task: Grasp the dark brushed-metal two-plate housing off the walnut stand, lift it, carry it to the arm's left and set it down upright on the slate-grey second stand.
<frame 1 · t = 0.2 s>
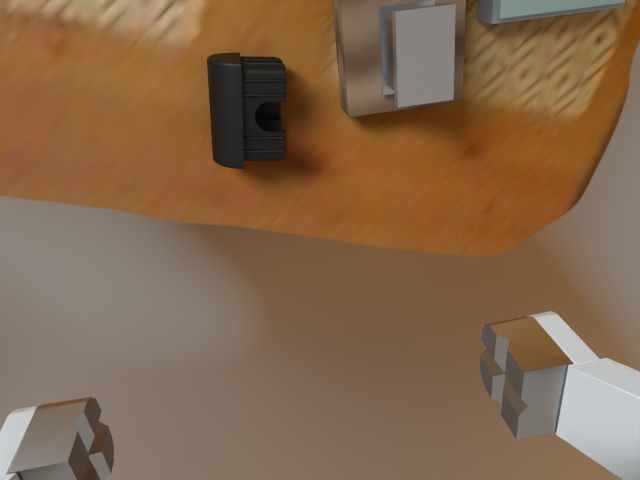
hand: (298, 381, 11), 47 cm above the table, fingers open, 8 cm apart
end cap: (245, 101, 55), on the table
housing: (405, 47, 51), point 4 cm above the table, touching stand a
stand a: (393, 41, 54), on the table
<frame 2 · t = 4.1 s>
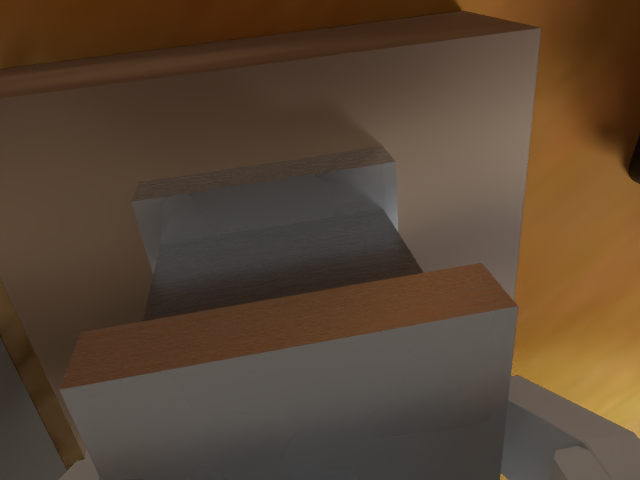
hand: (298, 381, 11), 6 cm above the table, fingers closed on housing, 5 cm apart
housing: (287, 315, 13), point 4 cm above the table, touching gripper, stand a
stand a: (274, 240, 17), on the table
when the fingers open (8 cm above the table, at t = 10.5 s): housing stays where it is, resting on stand b.
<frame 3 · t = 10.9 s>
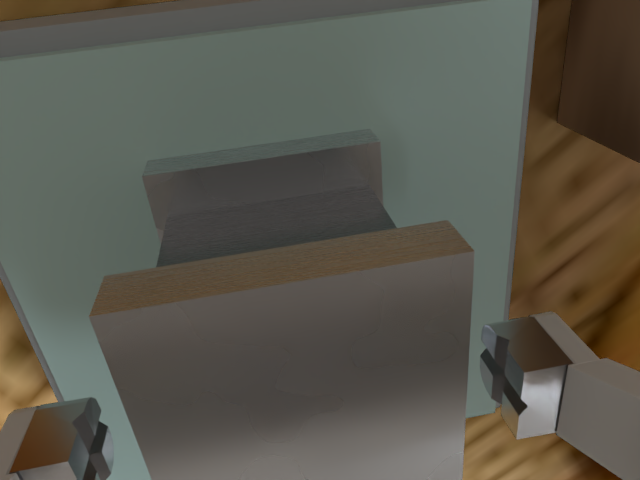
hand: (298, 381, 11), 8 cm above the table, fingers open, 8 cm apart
stand b: (269, 222, 18), on the table
housing: (283, 286, 14), point 4 cm above the table, touching stand b
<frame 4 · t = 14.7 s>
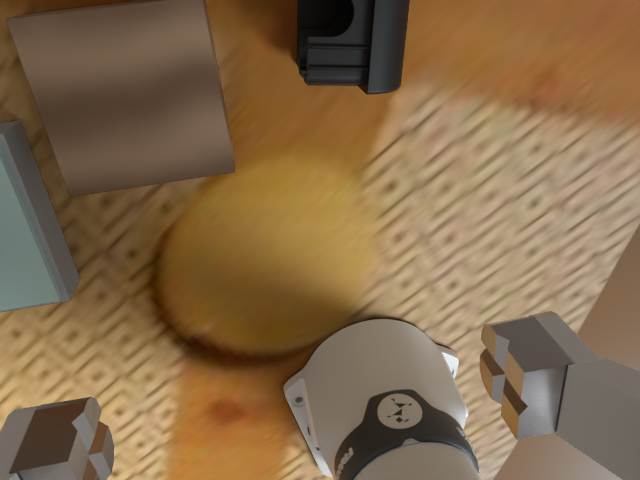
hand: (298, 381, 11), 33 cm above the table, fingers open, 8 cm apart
end cap: (344, 5, 39), on the table
stand a: (139, 90, 39), on the table
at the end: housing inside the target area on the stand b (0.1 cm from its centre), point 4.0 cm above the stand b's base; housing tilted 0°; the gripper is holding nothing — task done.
